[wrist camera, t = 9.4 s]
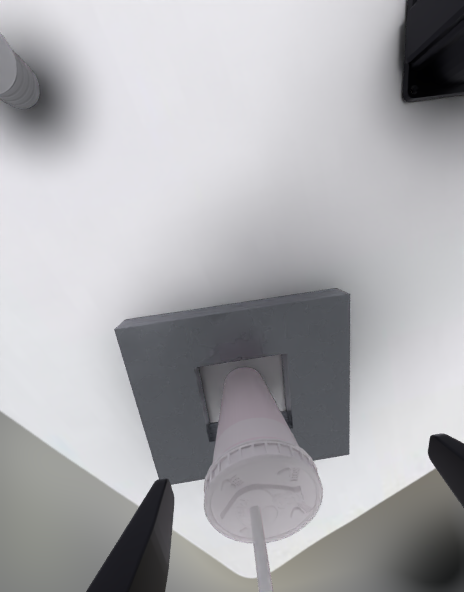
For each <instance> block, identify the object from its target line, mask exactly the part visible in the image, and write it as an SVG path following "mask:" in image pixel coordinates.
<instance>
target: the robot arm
mask: <svg viewBox="0 0 464 592" xmlns="http://www.w3.org/2000/svg"><path fill="white" fill-rule="evenodd" d="M411 89H412V90H413V94H412V93H411ZM458 95H464V0H408V8H407V26H406V44H405V62H404V80H403V98H404V100H405V101H406V102H412V101H420V100H427V99H435V98H443V97H451V96H458ZM428 455H429V458H430V460H431V462H432V463H433V465H434V466H435V467H436V469H437V470H438V472H439V473H440V475H441V476H442V477H443V479H444V480H445V482H446V483H447V485H448V486H449V488H450V489H451V490H452V492H453V493H454V495H455V496H456V498H457V499H458V501H459V502H460V503H461V505H462V506H463V508H464V443H462V442H460V441H458V440H456V439H454V438H452V437H450V436H448V435H446V434H435V435H431V436H430V440H429V448H428ZM173 512H174V494H173V491H172V488H171V484H170V481H169V479H167V478H166V479H160V480H157V481H156V482H155V483H154V484H153V486H152V487H151V489H150V490H149V492H148V494H147V495H146V497H145V498H144V500H143V502H142V503H141V505H140V506H139V508H138V510H137V511H136V513H135V514H134V516H133V518H132V519H131V521H130V523H129V524H128V526H127V527H126V529H125V530H124V532H123V534H122V535H121V537H120V539H119V540H118V542H117V543H116V545H115V546H114V548H113V550H112V551H111V553H110V554H109V556H108V558H107V559H106V561H105V562H104V564H103V566H102V567H101V569H100V570H99V572H98V574H97V575H96V577H95V578H94V580H93V581H92V583H91V585H90V586H89V588H88V590H87V591H86V592H165V588H166V582H167V576H168V569H169V559H170V547H171V535H172V524H173Z"/></svg>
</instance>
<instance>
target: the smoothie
mask: <svg viewBox="0 0 464 592" xmlns="http://www.w3.org/2000/svg"><path fill="white" fill-rule="evenodd" d="M204 493H205V496H204V510H205V514H206V517H207V519H208V521H209V522H210V524H211V525H212V526H213V527H214V528H215V529H216V530H217V531H218V532H219V533H221V534H222V535H224V536H226V537H227V538H230V539H233V540H235V541H239V542H244V543H253V544H254V553H255V561H256V570H257V578H258V587H259V592H273V587H272V581H271V575H270V568H269V562H268V555H267V549H266V543H269V542H273V541H278V540H281V539H284V538H286V537H289V536H291V535H293V534H295V533H296V532H298V531H300V530H301V529H302V528H304V527H305V526H306V525H307V524H308V523H309V522H310V521H311V520H312V519H313V518H314V516H315V515H316V513H317V512H318V510H319V508H320V505H321V502H322V498H323V488H322V483H321V481H320V478H319V476H318V473H317V468H316V466H315V464H314V462H313V459H312V458H311V457H310V456H309V455H308V454H307V453H306V451H305V450H304V449H302V448H300V447H299V445H298V443H297V441H296V439H295V437H294V435H293V434H292V432H291V430H290V428H289V427H288V425H287V423H286V421H285V419H284V417H283V415H282V414H281V412H280V410H279V408H278V406H277V404H276V402H275V401H274V399H273V397H272V395H271V393H270V391H269V389H268V388H267V386H266V384H265V382H264V380H263V378H262V376H261V375H260V374H259V372H257V371H256V370H254V369H252V368H248V367H241V368H237V369H235V370H233V371H231V372H230V373H229V374H228V375H227V377H226V379H225V381H224V388H223V394H222V401H221V408H220V415H219V422H218V429H217V436H216V443H215V448H214V455H213V463H212V465H211V466H210V468H209V470H208V472H207V475H206V477H205V483H204Z"/></svg>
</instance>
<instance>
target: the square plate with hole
mask: <svg viewBox="0 0 464 592" xmlns="http://www.w3.org/2000/svg"><path fill="white" fill-rule="evenodd" d="M114 330H115V333H116V337H117V340H118V344H119V347H120V350H121V354H122V357H123V360H124V364H125V367H126V370H127V374H128V377H129V380H130V384H131V387H132V390H133V394H134V397H135V400H136V404H137V407H138V410H139V414H140V417H141V420H142V424H143V427H144V430H145V434H146V437H147V440H148V444H149V447H150V450H151V454H152V457H153V460H154V464H155V467H156V470H157V474H158V477H159V480H160V479H166V478H167V479H169V481H170V484H171V485H172V484H178V483H184V482H190V481H196V480H202V479H205V477H206V475H207V472H208V470H209V468H210V466H211V465H212V463H213V455H214V448H215V443H216V436H217V429H218V423H212V424H210V422H209V417H208V412H207V407H206V402H205V397H204V392H203V387H202V382H201V377H200V372H199V367H201V366H208V365H214V364H221V363H227V362H233V361H240V360H246V359H253V358H259V357H265V356H272V355H278V354H281V355H282V367H283V378H284V390H285V401H286V411H285V412H281V414H282V415H283V417H284V419H285V421H286V423H287V425H288V427H289V428H290V430H291V432H292V434H293V435H294V437H295V439H296V441H297V443H298V445H299V447H300V448H302V449H304V450H305V451H306V453H307V454H308V455H309V456H310V457H311V458H312V459H313V461H314V460H320V459H326V458H331V457H337V456H343V455H349V398H350V294H349V293H347V292H344V291H342V290H340V289H337V288H334V289H327V290H321V291H314V292H307V293H301V294H294V295H287V296H281V297H274V298H267V299H261V300H254V301H247V302H241V303H234V304H227V305H221V306H214V307H207V308H200V309H194V310H187V311H180V312H174V313H167V314H160V315H154V316H147V317H140V318H134V319H127V320H124V321H123V322H122V323H121V324H120V325H119V326H118V327H116V328H115V329H114Z"/></svg>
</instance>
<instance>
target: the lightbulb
mask: <svg viewBox="0 0 464 592" xmlns="http://www.w3.org/2000/svg"><path fill="white" fill-rule="evenodd" d="M39 96H40V87H39V82H38V79H37V77H36V75H35V74H34V72H33V71H32V70H31V69H30V67H29V66H28V65H27V64H26V63H25V62H24V61H23V60H22V59H21V58H20V57H19V56H18V55H17V54H16V53H15V52H14V51H13V50H12V49H11V47H10V45H9V44H8V42H7V41H6V39H5V38H4V36H3V35H2V34H1V33H0V100H2V101H4V102H5V103H8V104H10V105H12V106H13V107H16V108H19V109H28V108H31V107H32V106H34V105H35V104H36V103H37V101H38V99H39Z"/></svg>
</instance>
